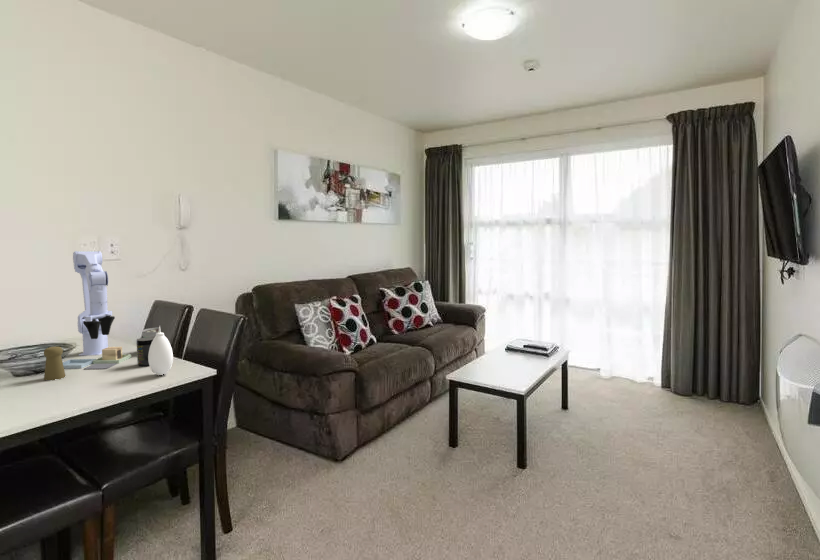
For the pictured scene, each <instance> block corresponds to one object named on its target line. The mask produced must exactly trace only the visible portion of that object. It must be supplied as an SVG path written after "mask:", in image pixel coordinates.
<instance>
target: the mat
mask: <svg viewBox="0 0 820 560" xmlns="http://www.w3.org/2000/svg"><path fill="white" fill-rule="evenodd" d="M117 364H118V363H110V364H90V365H88V366H86V367H84V368H83V370H85V371H87V370H89V371H90V370H91V371H92V370H107V369H110V368H112V367H115V366H116V365H117Z"/></svg>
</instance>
